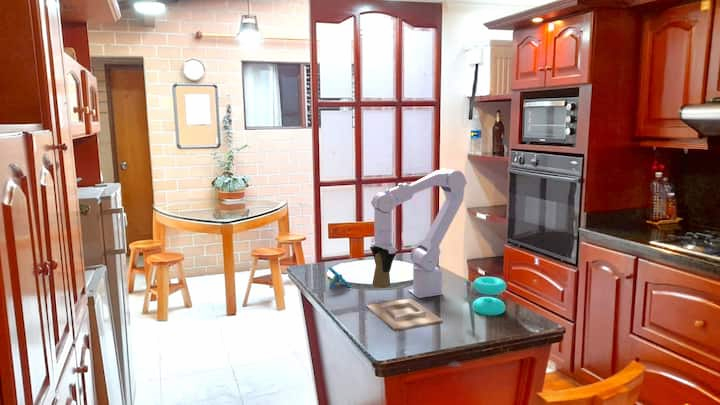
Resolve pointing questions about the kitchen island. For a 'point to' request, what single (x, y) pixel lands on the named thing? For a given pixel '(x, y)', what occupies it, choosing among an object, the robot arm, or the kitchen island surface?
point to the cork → (380, 274)
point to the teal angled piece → (337, 278)
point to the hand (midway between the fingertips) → (382, 269)
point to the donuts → (489, 303)
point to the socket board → (403, 314)
